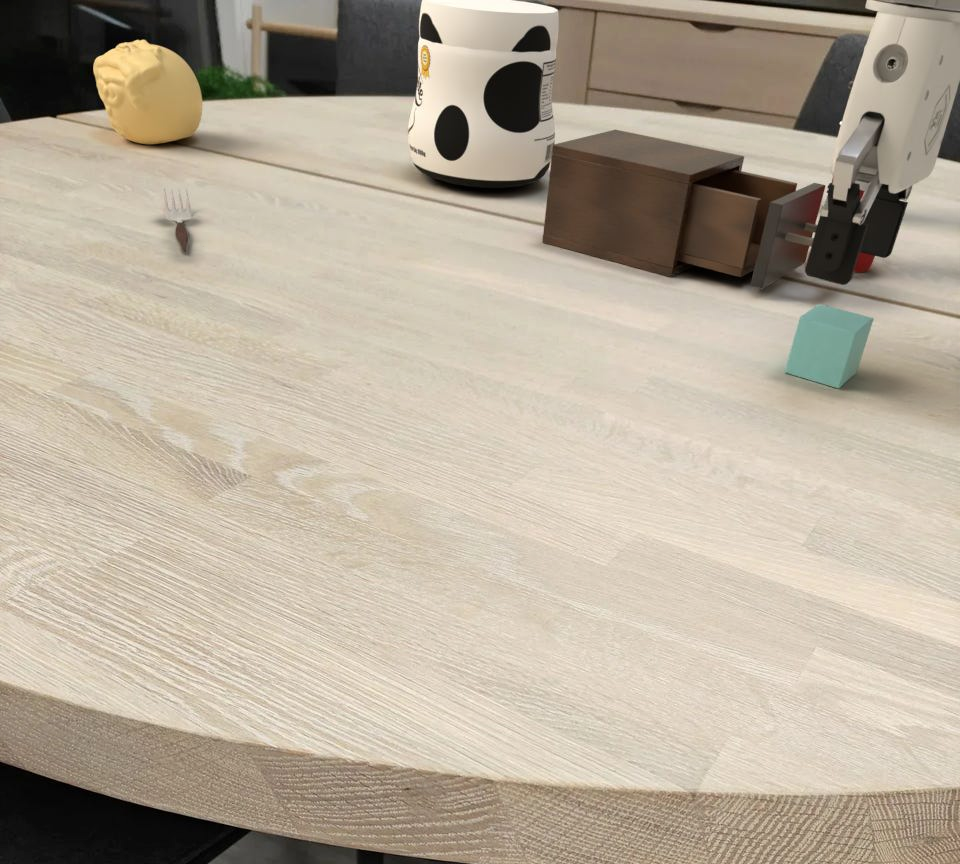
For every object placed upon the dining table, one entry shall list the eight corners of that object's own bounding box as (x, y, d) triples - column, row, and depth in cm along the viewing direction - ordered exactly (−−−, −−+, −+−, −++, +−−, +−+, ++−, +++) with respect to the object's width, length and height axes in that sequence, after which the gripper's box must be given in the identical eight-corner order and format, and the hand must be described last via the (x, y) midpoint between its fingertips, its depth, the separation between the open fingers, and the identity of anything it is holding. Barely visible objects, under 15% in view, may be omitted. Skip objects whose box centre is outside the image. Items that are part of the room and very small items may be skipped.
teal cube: (803, 357, 80) (819, 303, 78) (856, 372, 79) (874, 317, 76) (784, 372, 77) (799, 316, 75) (838, 389, 76) (856, 332, 73)
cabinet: (724, 251, 103) (744, 156, 98) (671, 277, 95) (690, 174, 89) (602, 220, 110) (615, 129, 104) (542, 242, 101) (552, 144, 95)
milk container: (388, 163, 124) (391, -9, 113) (516, 162, 129) (531, -2, 118) (434, 200, 111) (442, 10, 100) (573, 197, 117) (595, 17, 106)
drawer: (853, 275, 97) (876, 195, 92) (813, 302, 89) (837, 217, 85) (682, 233, 104) (696, 157, 100) (632, 254, 97) (645, 174, 92)
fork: (170, 258, 89) (167, 235, 88) (164, 209, 101) (161, 188, 100) (200, 258, 90) (198, 235, 88) (190, 209, 102) (188, 188, 100)
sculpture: (88, 133, 124) (73, 33, 117) (176, 127, 131) (166, 31, 124) (132, 153, 118) (119, 48, 111) (222, 145, 124) (214, 45, 118)
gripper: (961, -2, 55) (862, 305, 65) (1021, -5, 67) (930, 255, 77) (831, -19, 58) (756, 277, 69) (910, -19, 70) (836, 233, 80)
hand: (848, 265), depth 73 cm, fingers open, 9 cm apart
